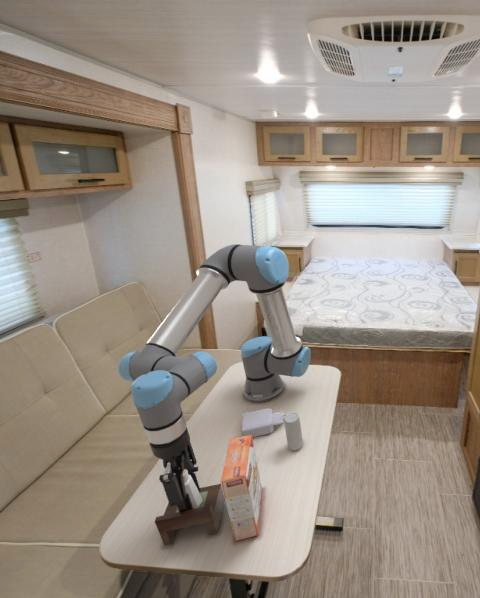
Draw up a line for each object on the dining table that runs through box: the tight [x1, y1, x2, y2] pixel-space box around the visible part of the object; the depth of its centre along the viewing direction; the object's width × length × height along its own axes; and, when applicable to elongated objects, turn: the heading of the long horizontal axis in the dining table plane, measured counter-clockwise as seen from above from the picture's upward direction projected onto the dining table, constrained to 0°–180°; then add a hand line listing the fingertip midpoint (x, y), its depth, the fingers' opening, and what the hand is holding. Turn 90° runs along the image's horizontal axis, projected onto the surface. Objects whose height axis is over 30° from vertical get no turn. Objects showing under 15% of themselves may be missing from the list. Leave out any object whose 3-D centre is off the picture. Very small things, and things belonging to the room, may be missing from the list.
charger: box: [241, 407, 288, 438], centre depth 122 cm, size 5×9×15 cm
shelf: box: [154, 483, 226, 547], centre depth 89 cm, size 10×12×9 cm
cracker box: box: [220, 435, 263, 542], centre depth 88 cm, size 14×6×21 cm, turn 17°
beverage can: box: [283, 412, 304, 451], centre depth 112 cm, size 5×5×12 cm
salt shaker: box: [183, 469, 203, 509], centre depth 86 cm, size 5×5×11 cm
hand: (191, 503), depth 88 cm, fingers closed on salt shaker, 5 cm apart
